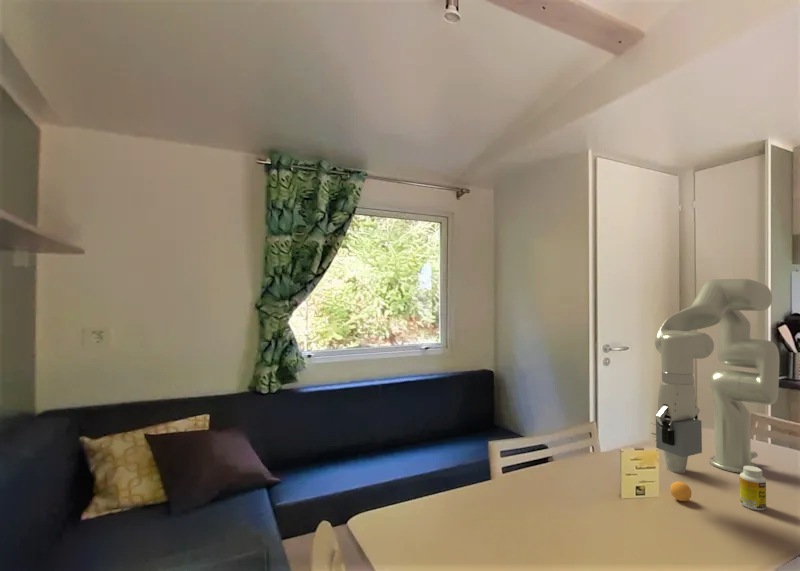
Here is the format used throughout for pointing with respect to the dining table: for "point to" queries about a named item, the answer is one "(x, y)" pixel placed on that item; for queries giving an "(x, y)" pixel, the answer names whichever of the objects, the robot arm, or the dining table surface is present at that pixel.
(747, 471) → the supplement bottle
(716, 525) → the dining table surface
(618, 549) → the dining table surface
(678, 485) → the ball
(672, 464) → the house plant
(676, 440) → the grey rectangular block
